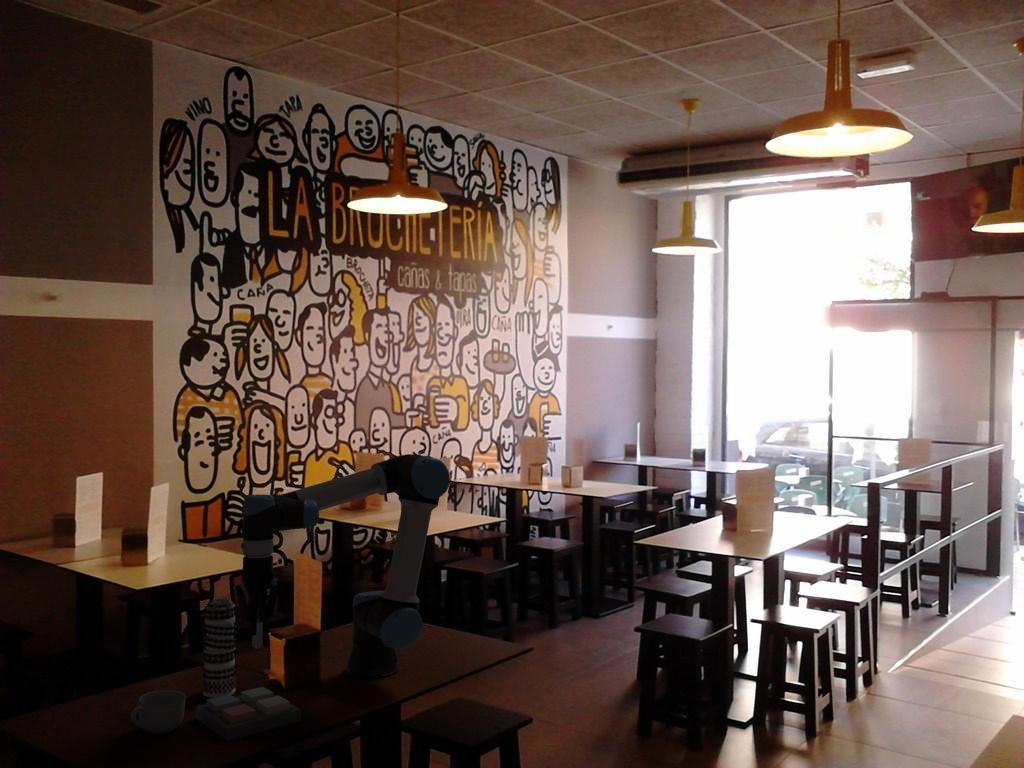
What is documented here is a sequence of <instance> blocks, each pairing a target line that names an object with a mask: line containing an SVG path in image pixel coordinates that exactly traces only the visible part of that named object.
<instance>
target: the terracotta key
mask: <svg viewBox="0 0 1024 768" xmlns="http://www.w3.org/2000/svg"><path fill="white" fill-rule="evenodd" d="M222 719H223V720H224V721H226V722H227V723H229V724H230V725H232V724H236V723H240V722H244V721H248V720H252V719H256V710H255V709H253V708H251V707H250V706H248V705H246V704H242V705H238V706H233V707H229V708H225V709H222Z"/></svg>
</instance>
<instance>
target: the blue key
mask: <svg viewBox="0 0 1024 768" xmlns="http://www.w3.org/2000/svg"><path fill="white" fill-rule="evenodd" d="M235 697H236V696H233V694H231V695H230V694H229V695H225V696H220V697H216V698H208V699H206V704H207V709H208V710H210V711H211V712H213V713H214V714H219V713H222V709H225V708H229V707H233V706H238V705H240V700H238V699H237V698H235Z"/></svg>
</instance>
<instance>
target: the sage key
mask: <svg viewBox="0 0 1024 768" xmlns="http://www.w3.org/2000/svg"><path fill="white" fill-rule="evenodd" d="M273 694H274V692H273V691H271V690H270V689H268V688H266V687H264V686H261V687H256V688H250V689H248V690H243V691H240V696H241V701H243V702H244V703H246V704H248V705H249V706H252V705H256V701H258V700H262V699H267V698H271V697H273Z"/></svg>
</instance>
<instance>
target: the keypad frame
mask: <svg viewBox="0 0 1024 768" xmlns="http://www.w3.org/2000/svg"><path fill="white" fill-rule="evenodd" d="M275 696H277V695H276V694H275V693H273V697H275ZM234 697H235V698H237V699H238V700H240V705H242V704H246V703H244V702H243V701H241V695H239V696H234ZM246 705H248V704H246ZM248 706H249V705H248ZM250 707H251V708H253V709H255V710H256V705H252V706H250ZM195 720H197V721H198V722H200V723H201V724H202V725H204V726H206V728H208V729H210V730H211V731H212V732H214V733H215V734H217V735H218V736H220V737H221V738H223V739H224V740H225V741H227V742H229V741H233V740H235V739H240V738H244V737H247V736H252V735H256V734H259V733H262V732H267V731H270V730H274V729H279V728H281V727H286V726H289V725H293V724H296V722H297V723H300V721H301V722H302V709H301V708H300V707H298V706H296V705H294V704H292V703H290V710H287V711H283V712H279V713H275V714H271V715H268V716H266V715H264V714H263V713H261V712H259V711H258V710H256V719H252V720H248V721H244V722H240V723H236V724H232V725H230V724H229V723H227V722H226V721H224V720H223V719H222V713H219V714H214V713H213V712H211V711H210V710H208V709H207V703H205V704H201V705H197V706H195Z"/></svg>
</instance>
